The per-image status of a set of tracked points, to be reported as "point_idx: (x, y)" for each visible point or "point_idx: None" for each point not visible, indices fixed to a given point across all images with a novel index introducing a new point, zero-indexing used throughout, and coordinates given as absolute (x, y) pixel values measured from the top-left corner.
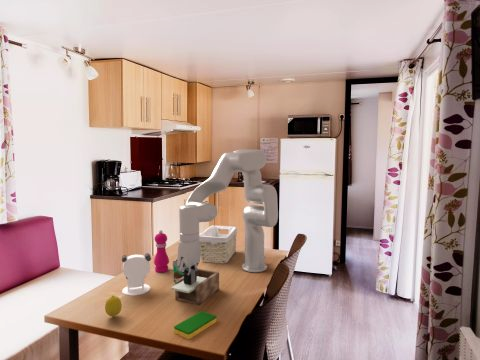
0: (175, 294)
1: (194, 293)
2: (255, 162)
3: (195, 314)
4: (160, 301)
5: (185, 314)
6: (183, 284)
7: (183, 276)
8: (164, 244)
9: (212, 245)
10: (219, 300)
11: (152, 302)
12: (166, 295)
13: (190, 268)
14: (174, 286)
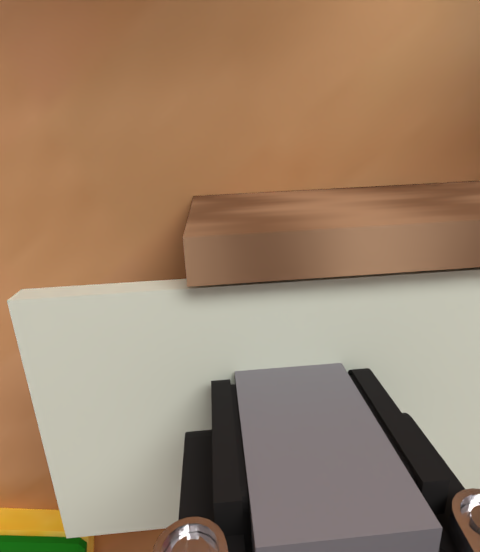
0: (192, 205)
1: None
2: None
3: (9, 546)
4: (81, 80)
5: (37, 424)
6: (196, 375)
7: (425, 225)
8: None
9: None
10: None
11: (10, 10)
12: (227, 37)
13: (462, 547)
14: (64, 319)
